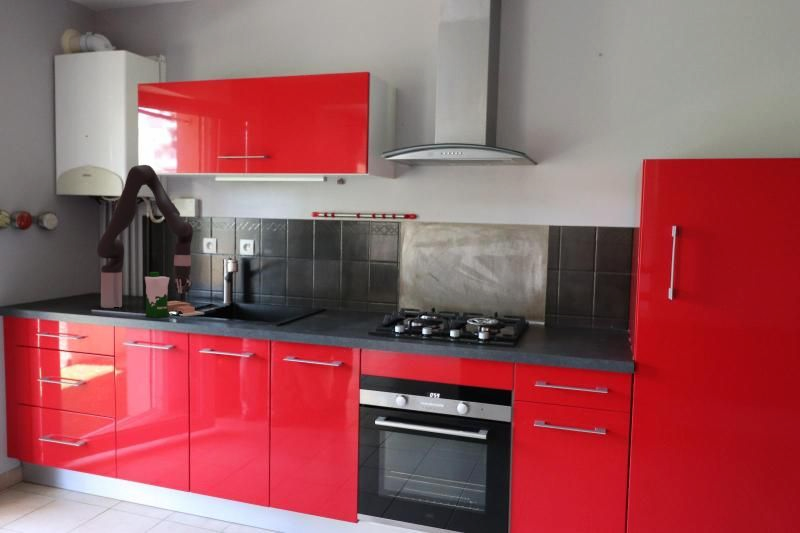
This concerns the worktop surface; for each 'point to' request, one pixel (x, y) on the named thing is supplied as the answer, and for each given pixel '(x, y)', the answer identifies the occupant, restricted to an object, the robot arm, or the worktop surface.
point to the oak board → (176, 304)
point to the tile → (184, 309)
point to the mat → (192, 313)
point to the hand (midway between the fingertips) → (182, 301)
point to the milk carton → (156, 295)
